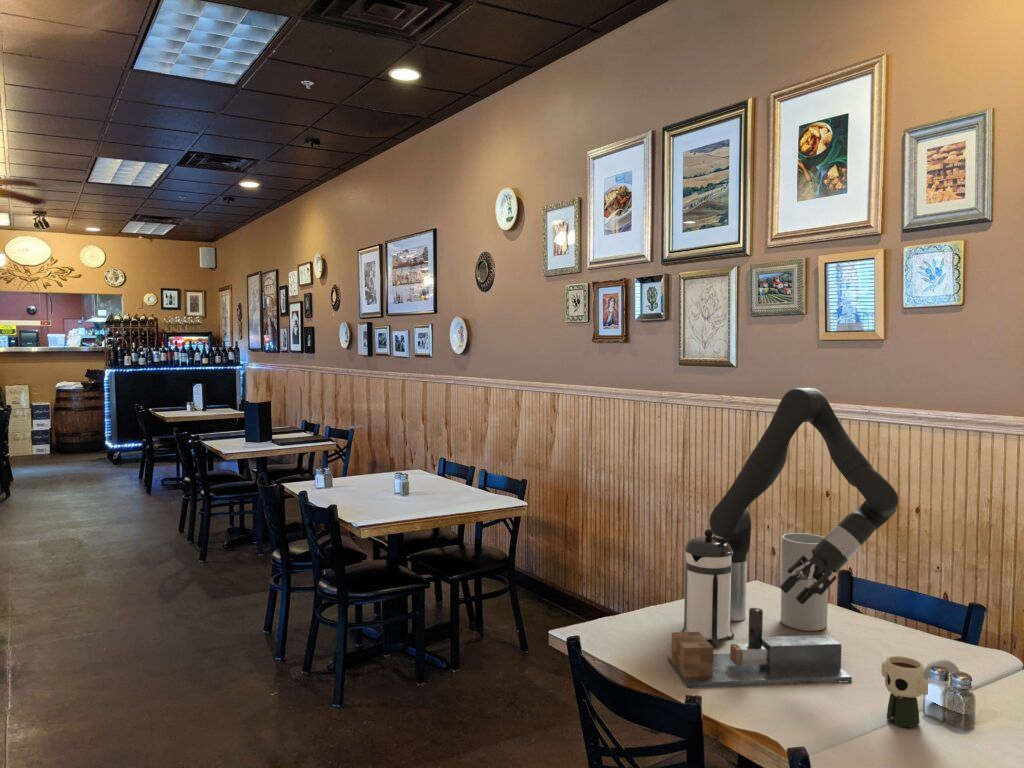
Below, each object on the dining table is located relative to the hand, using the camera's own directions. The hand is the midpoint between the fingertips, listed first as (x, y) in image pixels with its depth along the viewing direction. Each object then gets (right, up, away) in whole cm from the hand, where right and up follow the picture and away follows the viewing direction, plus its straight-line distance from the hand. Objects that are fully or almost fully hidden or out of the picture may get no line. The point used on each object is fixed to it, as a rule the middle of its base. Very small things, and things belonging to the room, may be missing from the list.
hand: (790, 596), depth 187 cm
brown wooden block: (-25, -17, -2) cm, 30 cm away
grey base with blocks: (-8, -18, 0) cm, 20 cm away
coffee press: (-15, -18, +22) cm, 32 cm away
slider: (-2, -16, 0) cm, 16 cm away
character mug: (+14, -20, -26) cm, 36 cm away
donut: (+27, -19, -17) cm, 38 cm away
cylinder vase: (+16, -17, +32) cm, 40 cm away
